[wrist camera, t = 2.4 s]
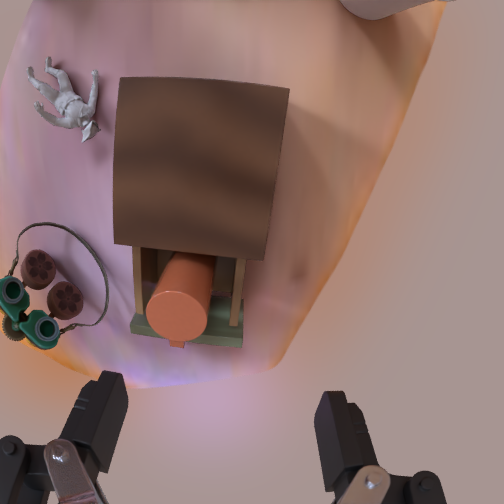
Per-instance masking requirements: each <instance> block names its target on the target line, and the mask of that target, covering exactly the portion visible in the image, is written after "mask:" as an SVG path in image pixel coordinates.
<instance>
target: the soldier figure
mask: <svg viewBox="0 0 504 504" xmlns="http://www.w3.org/2000/svg"><path fill="white" fill-rule="evenodd" d="M45 63H46V68H45V72H47V73H49V74H51V75H53V76H54V77H56V78H57V79H58V83H59V87H60V92H59V91H57V90H55V89H53V88H52V87H51V86H50V85H48V84H47V83H44V82H41V81H39V80H37V79H35V78H34V70H33V68H32V67H29V68H27V74H28V77H29V78H28V81H29V82H32V84H33V85H34V86H35V88H36V89H37V90H39V92H40V93H41V94H42V95H44V96H45V97H46V98H47V99H48V100H49V101H50V102H51V103H52V104H53V105H54V106H55V108H56V109H57V110H58V112H59V113H60V114H61V115H65V117H66V118H57V117H56V116H54V115H52V114H50V113H48V112H46V111H44V108H43V103H42V106H41V105H40V104H39V101H36V103H35V104H34V107H35V109H36V111H37V112H38V113H39V114H40V115H41V117H43V118H44V119H45V120H46V121H48V122H49V123H51V124H52V125H54V126H59V127H64V128H68V129H72V128H75V127H80V126H81V127H84V126H86V125H87V124H88V125H87V127H86V128H85V130H84V131H83V130H81V131H82V133H83V139H82V142H85V141H86V140H88V139H90V138H92V137H94V136H95V135H96V134H97V133H98V132H99V131H100V130H101V129H99V128H98V124H97V123H96V122H95V121H94V120H92V121H91V122H90V118H91V117H92V116H93V115H94V114H95V106H96V101H97V97H98V84H99V83H98V77H99V75H98V71H97V70H95V71H94V70H93V72H94V74H93V72H91V73H92V75H93V82H94V83H93V84H92V88H91V93H90V98H89V102H88V104H84V101H83V99H82V98H81V97H80V96H78V95H76V94H75V93H74V92H73V89H72V86H71V83H70V80H69V78H68V76H67V73H65V72H64V71H63V70H58V69H55V68H52V66H51V64H52V59H51V57H47V58H46V60H45ZM95 73H96V74H95ZM37 103H38V104H37ZM36 105H37V106H36ZM89 122H90V123H89Z"/></svg>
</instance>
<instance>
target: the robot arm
mask: <svg viewBox="0 0 504 504" xmlns="http://www.w3.org/2000/svg"><path fill="white" fill-rule="evenodd" d="M127 408H128V395H127V391H126V387H125V383H124V379H123V375H122V374H121V373H116V372H111V371H106V370H104V371H102V373H101V375H100V377H99V379H98V381H93V380H91V381H89V382H88V383H87V384H86V385H85V386H84V387H83V388H82V389H81V392H80V394H79V396H78V399H77V400H76V402H75V404H74V408H72V411H71V413H70V415H69V417H68V419H67V422H66V424H65V426H64V428H63V431H62V433H61V435H60V437H59V438H58V439H55V440H52V441H51V442H49V443H48V444H47V445H28V444H24V443H23V442H22V440H21V439H20V438H18V437H16V436H12V435H10V436H9V435H8V436H5V437H3V438H1V439H0V504H47V501H48V497H49V494H50V491H55V492H56V494H57V497H58V500H59V503H58V504H109V503H108V501H107V499H106V497H105V495H104V493H103V491H102V489H101V487H100V485H99V483H98V481H97V477H98V473H99V471H100V472H104V473H108V470H109V467H110V463H111V460H112V457H113V453H114V450H115V447H116V444H117V440H118V437H119V434H120V431H121V428H122V425H123V421H124V419H125V415H126V412H127ZM314 427H315V432H316V438H317V444H318V450H319V455H320V461H321V467H322V473H323V479H324V485H325V491H326V492H332V491H334V493H335V499H334V500H333V502H332V503H331V504H447V503H446V500H445V496H444V492H443V489H442V486H441V482H440V480H439V478H438V477H437V476H436V475H435V474H434V473H432V472H430V471H420V472H418V473H416V474H415V475H414V476H413V477H407V476H396V475H392V474H389V473H388V472H387V471H386V470H385V469H383V468H382V467H380V466H379V464H378V462H377V458H376V455H375V452H374V448H373V445H372V442H371V439H370V435H369V433H368V429H367V425H366V424H365V419H364V416H363V413H362V411H361V410H360V409H359V407H358V406H357V405H356V404H355V403H347V400H346V396H345V393H344V392H343V391H325V392H324V393H323V395H322V398H321V400H320V403H319V405H318V408H317V410H316V413H315V418H314Z"/></svg>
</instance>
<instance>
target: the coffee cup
mask: <svg viewBox="0 0 504 504" xmlns="http://www.w3.org/2000/svg"><path fill="white" fill-rule="evenodd" d="M340 1H341V3H342V4H343V6H344V7H345V8H346V9H347V10H349V11H350V12H351V13H353V14H354V15H356V16H358V17H360V18H363V19H367V20H378V19H382V18H384V17H387V16H390V15H392V14H395V13H398V12H400V11H403V10H406V9H409V8H412V7H415V6H418V5H421V4H424V3H427V2H430V1H434V0H340ZM439 1H454V0H439Z"/></svg>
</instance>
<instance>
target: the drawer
mask: <svg viewBox="0 0 504 504" xmlns="http://www.w3.org/2000/svg"><path fill="white" fill-rule="evenodd" d="M172 252H173V251H171V250H162V249H154V248H145V247H137V246H132V254H133V277H134V294H135V308H136V313H135V315H134V317H133V319H132V321H131V323H130V330H131V333H133V334H139V335H145V336H151V337H158V338H164V337H162V336H161V335H159V334H158V333H156V332H155V331H154V330H153V328H152V327H151V326H150V324H149V322H148V320H147V316H146V308H147V304H148V302H149V300H150V298H151V296H152V294H153V291H154V289H155V287H156V285H157V283H158V281H159V279H160V277H161V275H162V272H163V270H164V268H165V266H166V264H167V262H168V260H169V258H170V256H171V254H172ZM245 266H246V259H241V258H232V257H223V256H218V263H217V269H216V274H215V280H214V285H213V291H221V292H230V293H231V298H229V297H220V296H212V297H211V303H210V309H209V314H208V320H207V326H206V328H205V330H204V332H203V333H202V334H201V335H200V336H198V337H197V338H195V339H193V340H190V341H186V342H193V343H202V344H210V345H219V346H229V347H239V348H242V343H243V299H241V296H242V288H243V281H244V274H245ZM164 339H166V338H164Z"/></svg>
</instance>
